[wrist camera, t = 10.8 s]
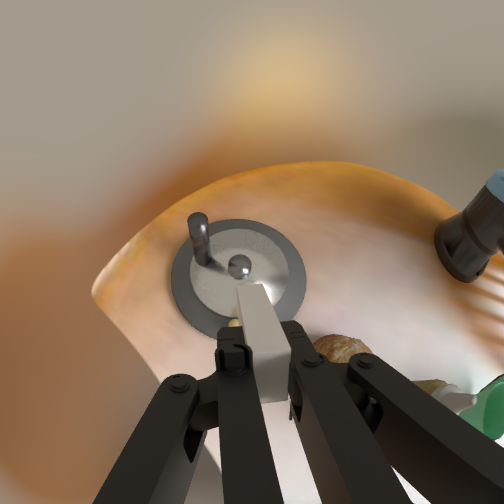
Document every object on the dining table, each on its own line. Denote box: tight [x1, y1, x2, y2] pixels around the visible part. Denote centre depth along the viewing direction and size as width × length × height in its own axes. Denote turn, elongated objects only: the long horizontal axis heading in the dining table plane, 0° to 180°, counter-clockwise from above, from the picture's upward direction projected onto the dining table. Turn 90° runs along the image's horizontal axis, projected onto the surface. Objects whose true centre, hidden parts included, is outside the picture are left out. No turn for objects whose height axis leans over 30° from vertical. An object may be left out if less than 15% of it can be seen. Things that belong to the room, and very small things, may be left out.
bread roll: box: [313, 334, 373, 363], centre depth 32 cm, size 10×10×8 cm
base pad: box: [171, 219, 306, 339], centre depth 39 cm, size 20×20×4 cm
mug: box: [458, 374, 504, 441], centre depth 26 cm, size 15×10×10 cm
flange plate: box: [187, 212, 289, 319], centre depth 35 cm, size 14×16×10 cm
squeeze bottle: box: [373, 379, 477, 415], centre depth 23 cm, size 8×8×18 cm
